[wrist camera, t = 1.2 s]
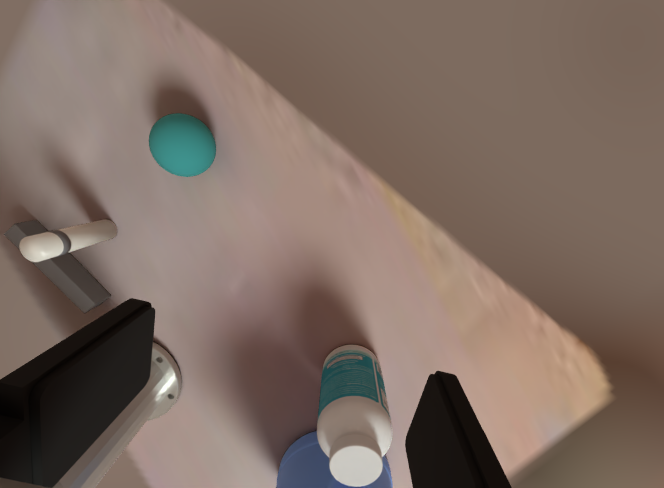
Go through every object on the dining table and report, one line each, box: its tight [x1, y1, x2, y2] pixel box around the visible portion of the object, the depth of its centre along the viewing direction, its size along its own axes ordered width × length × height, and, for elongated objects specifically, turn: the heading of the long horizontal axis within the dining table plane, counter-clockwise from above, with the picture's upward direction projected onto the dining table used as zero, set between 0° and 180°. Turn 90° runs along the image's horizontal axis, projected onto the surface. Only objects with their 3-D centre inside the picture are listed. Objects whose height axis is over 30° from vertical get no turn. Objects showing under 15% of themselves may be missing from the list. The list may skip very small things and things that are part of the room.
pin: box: [19, 219, 117, 262], centre depth 32 cm, size 2×2×9 cm
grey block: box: [4, 220, 111, 313], centre depth 36 cm, size 2×12×2 cm, turn 38°
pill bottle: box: [317, 345, 392, 487], centre depth 33 cm, size 8×7×14 cm
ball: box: [149, 113, 216, 177], centre depth 31 cm, size 6×6×6 cm
